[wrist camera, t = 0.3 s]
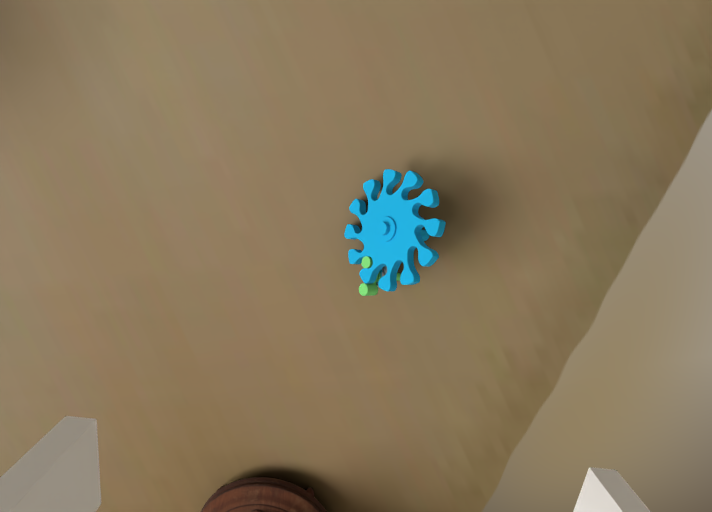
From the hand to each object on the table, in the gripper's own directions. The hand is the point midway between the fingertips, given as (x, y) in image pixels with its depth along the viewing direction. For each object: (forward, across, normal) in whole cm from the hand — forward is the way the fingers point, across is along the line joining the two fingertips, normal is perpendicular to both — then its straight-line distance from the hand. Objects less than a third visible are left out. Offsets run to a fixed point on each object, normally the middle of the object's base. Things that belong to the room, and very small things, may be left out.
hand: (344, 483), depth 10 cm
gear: (+27, +3, +2) cm, 27 cm away
